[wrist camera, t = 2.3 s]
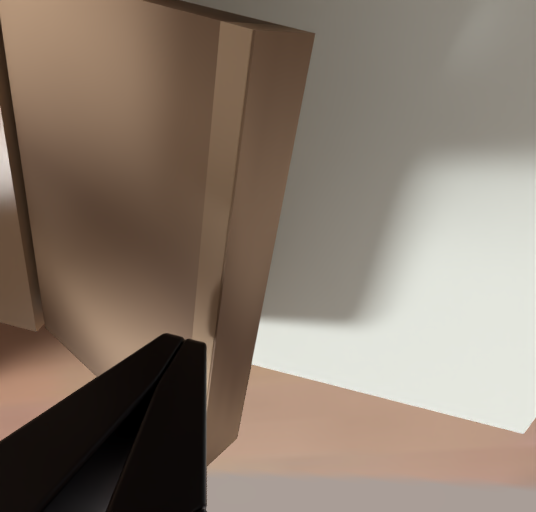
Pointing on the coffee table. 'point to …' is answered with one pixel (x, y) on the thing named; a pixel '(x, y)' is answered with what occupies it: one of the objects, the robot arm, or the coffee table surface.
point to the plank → (155, 175)
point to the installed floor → (385, 207)
